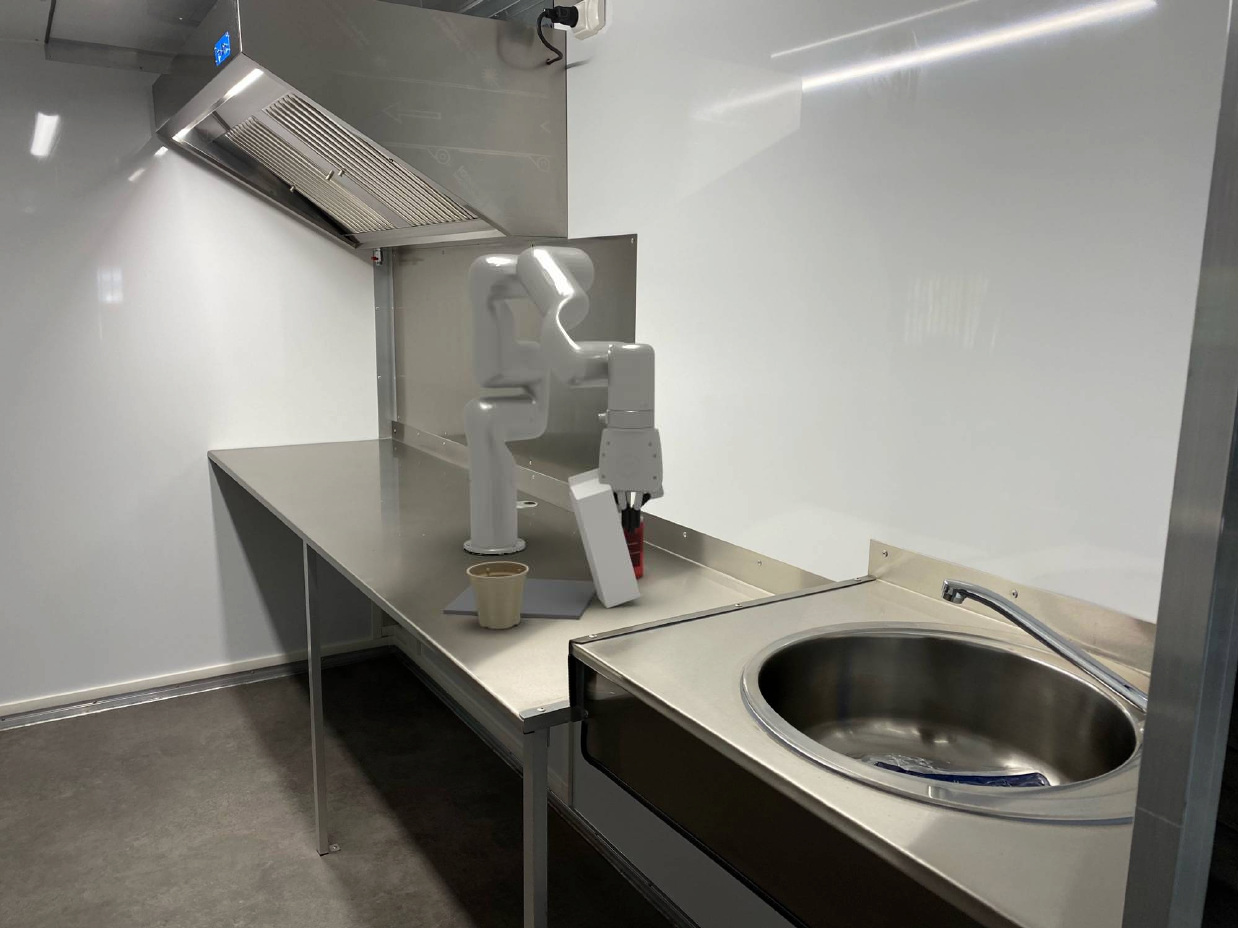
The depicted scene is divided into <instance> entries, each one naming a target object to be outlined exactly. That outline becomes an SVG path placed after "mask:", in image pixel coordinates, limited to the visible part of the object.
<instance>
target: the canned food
mask: <svg viewBox="0 0 1238 928" xmlns="http://www.w3.org/2000/svg"><path fill="white" fill-rule="evenodd" d="M618 514H619V518H620V521H621V512H618ZM644 528H645V527H644V517H643V516H642V515H641V525H640V528H637V531H636V533H635V534H632V533H629V534H625V528H622V529H623V533H624V536H625V540H626V544H627V547H628V551H629V555H630V558H631V562H632V566H633V570H634V573H635V577H636V580H638V579H639V578H641V577H642V576H643V573H644V532H645V531H644Z"/></svg>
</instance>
